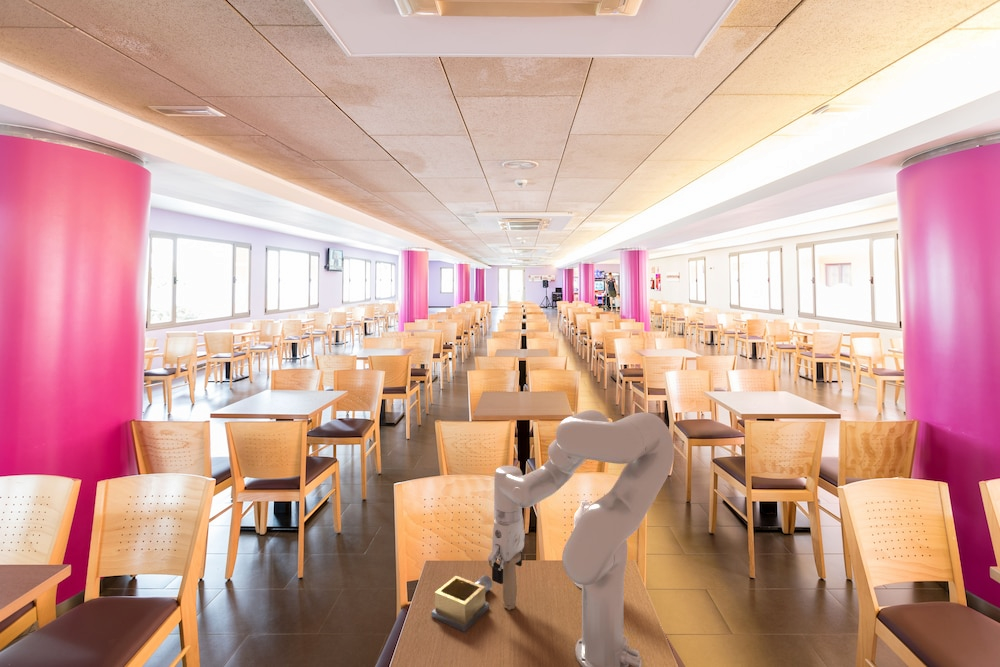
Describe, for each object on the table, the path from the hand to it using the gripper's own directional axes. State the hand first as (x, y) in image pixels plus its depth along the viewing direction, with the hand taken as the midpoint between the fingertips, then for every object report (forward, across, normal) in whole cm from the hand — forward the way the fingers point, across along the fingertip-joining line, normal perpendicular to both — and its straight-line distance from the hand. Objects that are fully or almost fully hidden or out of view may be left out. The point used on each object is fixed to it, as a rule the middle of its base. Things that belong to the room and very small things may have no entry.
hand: (507, 572), depth 129 cm
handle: (+10, 0, -1) cm, 10 cm away
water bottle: (+9, +20, -15) cm, 27 cm away
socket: (+10, -6, +9) cm, 14 cm away
